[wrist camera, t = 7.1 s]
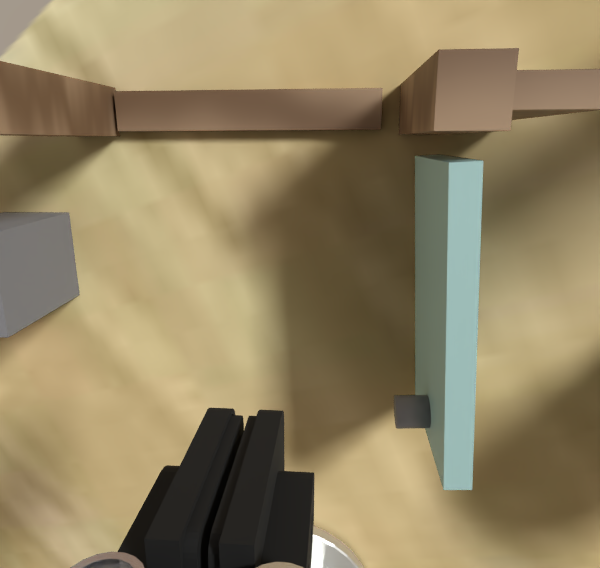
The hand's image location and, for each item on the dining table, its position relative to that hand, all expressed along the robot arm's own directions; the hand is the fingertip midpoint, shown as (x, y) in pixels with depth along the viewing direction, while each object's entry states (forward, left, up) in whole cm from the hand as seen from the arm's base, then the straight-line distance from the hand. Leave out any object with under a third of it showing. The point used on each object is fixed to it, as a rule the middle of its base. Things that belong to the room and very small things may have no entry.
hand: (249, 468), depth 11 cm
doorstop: (+1, +16, -19) cm, 25 cm away
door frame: (+9, +1, -19) cm, 21 cm away
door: (-1, -6, -18) cm, 19 cm away
